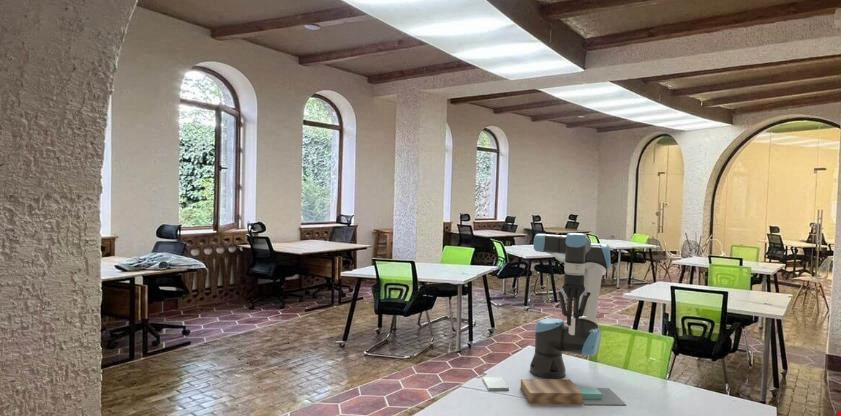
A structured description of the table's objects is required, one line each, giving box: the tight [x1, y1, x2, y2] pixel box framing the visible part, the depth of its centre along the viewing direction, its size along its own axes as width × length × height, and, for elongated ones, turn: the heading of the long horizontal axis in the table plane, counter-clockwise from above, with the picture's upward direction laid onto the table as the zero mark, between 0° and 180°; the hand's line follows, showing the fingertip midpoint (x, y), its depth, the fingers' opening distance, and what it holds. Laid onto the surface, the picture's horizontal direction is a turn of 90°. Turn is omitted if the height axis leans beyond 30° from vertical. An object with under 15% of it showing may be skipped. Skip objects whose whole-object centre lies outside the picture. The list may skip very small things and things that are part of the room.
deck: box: [519, 378, 583, 405], centre depth 205 cm, size 20×14×4 cm
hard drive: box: [481, 376, 510, 392], centre depth 216 cm, size 2×8×12 cm
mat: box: [582, 387, 627, 406], centre depth 207 cm, size 16×16×1 cm
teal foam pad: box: [577, 387, 602, 399], centre depth 206 cm, size 9×6×2 cm, turn 93°
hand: (571, 333), depth 205 cm, fingers closed
